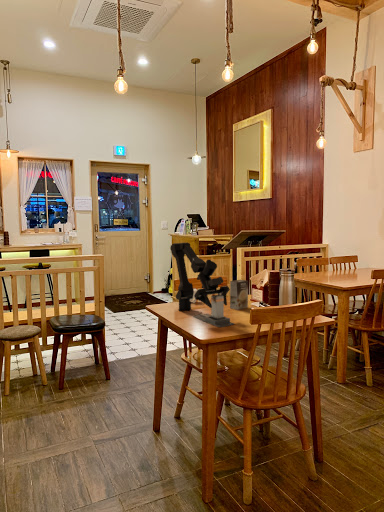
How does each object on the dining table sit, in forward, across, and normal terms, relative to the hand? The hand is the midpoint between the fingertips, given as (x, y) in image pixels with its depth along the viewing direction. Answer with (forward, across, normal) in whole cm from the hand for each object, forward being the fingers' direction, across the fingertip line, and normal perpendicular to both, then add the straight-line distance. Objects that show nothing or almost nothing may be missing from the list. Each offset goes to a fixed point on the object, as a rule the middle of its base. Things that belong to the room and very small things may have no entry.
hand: (219, 306), depth 186 cm
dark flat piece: (+2, 0, +10) cm, 10 cm away
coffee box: (-8, +29, +21) cm, 37 cm away
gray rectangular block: (+5, 0, +7) cm, 8 cm away
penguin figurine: (-29, +13, +42) cm, 53 cm away
